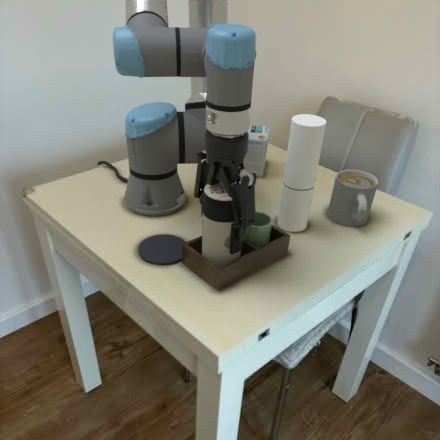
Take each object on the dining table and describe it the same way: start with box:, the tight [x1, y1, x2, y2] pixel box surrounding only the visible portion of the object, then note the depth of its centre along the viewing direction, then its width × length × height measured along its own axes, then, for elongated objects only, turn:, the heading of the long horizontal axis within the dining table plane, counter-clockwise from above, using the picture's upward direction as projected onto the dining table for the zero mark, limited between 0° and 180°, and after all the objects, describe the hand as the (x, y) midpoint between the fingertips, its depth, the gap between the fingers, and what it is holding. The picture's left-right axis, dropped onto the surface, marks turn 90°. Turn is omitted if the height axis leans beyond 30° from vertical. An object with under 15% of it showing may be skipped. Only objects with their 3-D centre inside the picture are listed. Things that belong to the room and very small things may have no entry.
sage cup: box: [245, 210, 273, 248], centre depth 99 cm, size 6×6×8 cm
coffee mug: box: [327, 169, 379, 227], centre depth 110 cm, size 13×10×10 cm
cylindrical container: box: [277, 113, 327, 233], centre depth 102 cm, size 7×7×25 cm
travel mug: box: [201, 181, 241, 267], centre depth 90 cm, size 8×8×18 cm
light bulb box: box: [243, 124, 270, 178], centre depth 130 cm, size 11×7×11 cm, turn 172°
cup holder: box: [181, 224, 291, 292], centre depth 97 cm, size 12×20×5 cm, turn 131°
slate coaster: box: [137, 233, 187, 266], centre depth 100 cm, size 11×11×1 cm
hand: (221, 241), depth 92 cm, fingers closed on travel mug, 8 cm apart
